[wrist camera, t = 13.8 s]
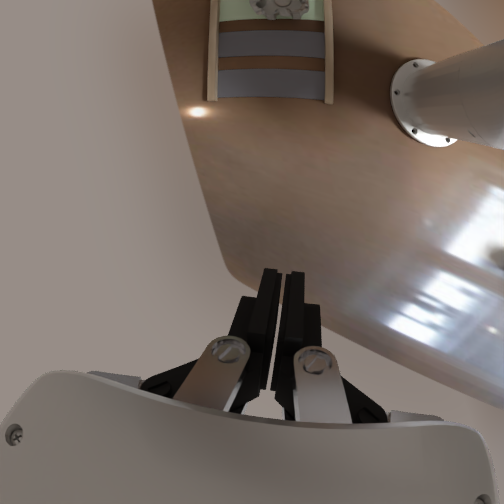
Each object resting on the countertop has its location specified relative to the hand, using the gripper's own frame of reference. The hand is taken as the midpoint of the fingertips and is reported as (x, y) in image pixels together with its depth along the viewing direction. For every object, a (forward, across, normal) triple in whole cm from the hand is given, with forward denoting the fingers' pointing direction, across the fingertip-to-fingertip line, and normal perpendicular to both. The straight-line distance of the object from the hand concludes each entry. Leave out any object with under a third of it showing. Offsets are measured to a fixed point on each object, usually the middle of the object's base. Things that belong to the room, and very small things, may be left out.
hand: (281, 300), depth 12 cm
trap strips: (+27, +4, -16) cm, 32 cm away
